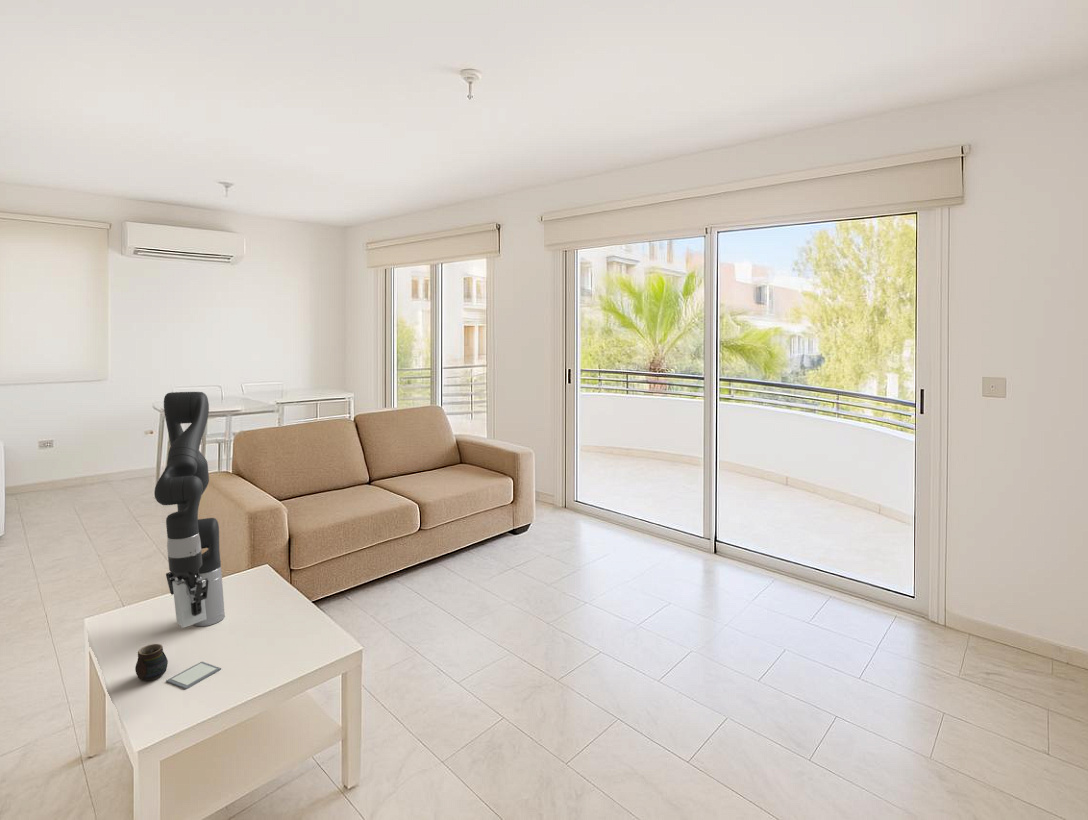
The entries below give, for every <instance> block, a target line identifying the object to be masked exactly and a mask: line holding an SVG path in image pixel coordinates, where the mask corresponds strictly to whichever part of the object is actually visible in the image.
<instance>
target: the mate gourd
mask: <svg viewBox="0 0 1088 820" xmlns="http://www.w3.org/2000/svg"><path fill="white" fill-rule="evenodd" d="M163 647H164V646H163V645H162V644H160V643H151V644H148V645H145V646H143V647H141V648H139V650H138V652H137V661H136V663H135V666H134V668H135V669H134V670H135V674H136V676H137V678H138V679H139V680H140V681H144V682H151V681H155V680H158V679H159V678H161V677H162V676H163V675H165V673H166V672H167V670H168V669H167V667H168V663H169V660H168V658H167V656H166V654H165V652H164V648H163Z"/></svg>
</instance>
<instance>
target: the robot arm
mask: <svg viewBox="0 0 1088 820" xmlns="http://www.w3.org/2000/svg"><path fill="white" fill-rule="evenodd" d="M209 404H210V403H209V399H208V395H206V393H205V392H203V391H178V392H177V391H176V392H175V391H174V392H173V391H172V392H167V393H166V394H165V396H164V398H163V412H164V418H165V422H166V428H167V433H168V438H169V445H170V447H169V448H168V454H167V460H166V466H165V468H164V470H163V472H162V474H161V475H160V477H159V478H158V480H157V482H156V484H155V487H154V491H153V492H154V498H155V500H156V501H157V503H159V504H160V505H163V506H172V505H177V511H175V512H172V513H170V514H168V515H167V517H166V518H165V526H166V537H167V542H166V548H167V549H166V550H167V559H168V569H169V572H166V573H165V576H166V580H167V585H168V589H169V593H170V594H171V596H174V592H173V583H172V582H173V581H177V582H179V581H182V583H184V584H185V585H186V593H187V595H189V596H190V599H191V602H192V603H191V609H192V615H193V616H196V615H198V614H200V613H201V612H202V608H201V600H204V599H205V610H206V620H203V621H200V622H198V623H195V624H192V625H193V626H196V627H208V626H211V625H214V624H217V623H219V622H221V621H222V620H224V619H225V617H226V616H225V614H226V613H225V601H224V588H223V576H222V575H223V574H222V564H221V562H222V561H221V553H220V551H221V550H220V526H219V522H218V519H216V518H215V517H207V518H199V519H198V516H199V515H198V514H199V507H200V501H201V499H202V495H203V494H204V492H205V491H206V489H207V488H208V485H209V483H210V477H209V475H210V474H209V465H208V460H207V458H206V457H205V456H204V454H203V453H202V452H201V451H200V445H201V442H202V439H203V436H204V433H205V429H206V427H207V423H208V419H209V412H210V406H209ZM183 424H189V426H188V427H187V428H186V429H185V430H184V429H183V428H182V425H183ZM202 549H207V550H205V551H204V552H203V553H202ZM200 577H201V578H200ZM194 587H196V589H195V590H192V591H191V590H190V589H192V588H194ZM195 592H196V597H194V593H195ZM202 593H203V594H202Z"/></svg>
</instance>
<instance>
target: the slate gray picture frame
mask: <svg viewBox="0 0 1088 820" xmlns="http://www.w3.org/2000/svg"><path fill="white" fill-rule="evenodd" d="M221 670H222V667H218V666H216V665H213V664H210V663H208V662H205V661H200V662H198V663H197V664H196V663H195V664H194V665H192V666H190V667H188V668H186V669H185V670H183V671H181V672H180V673H177V674H174V676H172V677H170V678H168V679H166V680H165V682H166V683H169V684H172V685H174V686H177V687H179V688H182V689H184V690H188V689H189V688H191V687H194V686H195V685H196V684H198V683H200V682H202V681H203V680H205V679H207V678H209V677H210V676H212V675H214V674H216V673H217V672H219V671H221Z"/></svg>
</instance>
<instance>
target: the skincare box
mask: <svg viewBox="0 0 1088 820" xmlns="http://www.w3.org/2000/svg"><path fill="white" fill-rule="evenodd" d="M200 578H201V577H200ZM172 583H173V592H174V594H173V599H174V609H175V610H174V611H175V618H176V624H177V625H179V626H180V627H181V628H186V627H189V626H192V625H193V624H195V623H198V622H200V621H203V620H206V610H205V599H204V600H201V608H202V612H201V613H200V614H198V615H196V616H193V615H192V609H191V603H192V602H191V599H190V596H189V595H187V593H186V585H185V584H184V583H182V581H179V582H177V581H173V582H172ZM195 589H196V587H194V588H192V589H190V590H191V591H192V590H195ZM202 594H203V593H202ZM194 597H196V592H195V593H194Z"/></svg>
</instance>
